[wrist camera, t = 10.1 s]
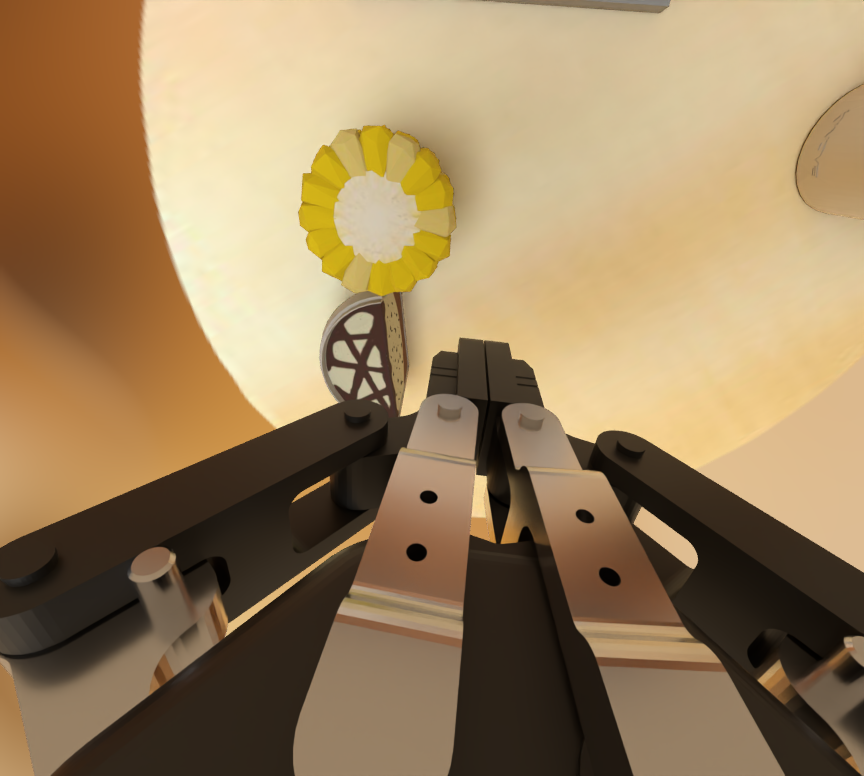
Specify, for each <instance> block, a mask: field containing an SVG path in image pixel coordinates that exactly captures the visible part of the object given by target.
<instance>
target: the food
mask: <svg viewBox="0 0 864 776" xmlns="http://www.w3.org/2000/svg"><path fill="white" fill-rule="evenodd" d="M311 170H312V171H311V173H303V180H302V197H301V201H302V204H301V207H300V209H299V212H298V214H299V220H300V226H301V227H303V228H304V229H305V230H306V231H308V232H309V233H308V235H307V238H306V243H307V246H308V249H309V250H310V251H312V252H313V253H314V254H315V255H316V256H318V257H319V258H320V259H321V260H322V272H324V273H326V274H328V275H330V276H332V277H335V278H337V279H339V280H341V281H342V284H341V285H342V286H344V287H346V288H347V289H349V290H351V291H352V292H354V293H360V292H365V291H370V292H372V293H374V294H377V295H379V296H381V297H382V296H384V295H387V294H390V293H393V292H410V291H411V290H412V289H413V287H414V286H415V284H416V283H417V281H418V280H421V279H426V278H429V277H430V276H431V275H432V274H433V272H434V271H435V269H436V268H437V264H438V261H440V260H442V259H445V258H447V257H449V256H450V241H451V235H450V233H451V232H452V231H453V230H454V229H455V228H456V216H455V208H454V206H453V205H452V201H453V195H454V193H453V189H454V188H453V187H452V186H451V184H450V180H449V178H448V176H447V175H445V173H442V172H441V168H440V165H439V160H438V159H437V157H436V156H435V153H434V152H432V151H430V150H429V149H428V148H424V147H423V148H420V145H419V142H418V140H417V139H415V137H413V136H410V134H405V133H403V132H400V131H397V132H396V133H395V134H394V135H393V133H392V132H391V130H390V129H387V128H386V126H385V125H383V126H369V125H368V126H363V129H362V131H361V130H357V129H348V130H340V131H339V133H338V135H337V136H336V138H335V139H334V141H333V142H332V144H331V145H330V146H329V147H328V146H325V145H323V146H322V147H321V148H320V150H319V151H318V153H317V154H316V157H315V159H314V161H313V164H312V166H311Z"/></svg>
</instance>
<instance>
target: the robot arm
mask: <svg viewBox="0 0 864 776" xmlns="http://www.w3.org/2000/svg"><path fill="white" fill-rule="evenodd" d="M796 175H797V186H798V189H799V192H800V195H801V197H802V198H803V199H804V201H805V202H806V203H807V204H808V205H809V206H811V207H812V208H813V209H815V210H817V211H820V212H823V213H827V214H833V215H839V216H845V217H850V218H856V219H862V220H864V84H863V85H861V86H859V87H858V88H856V89H854V90H852V91H850V92H849V93H848V94H846V95H845V96H844V97H843V98H841V99H840V100H839V101H837V102H836V103H835V104H834V105H833V106H832V107H831V108H830V109H829V110H828V111H827V112H826V113H825V114H824V115H823V116H822V117H821V119H820V120H819V121H818V123H817V124H816V125H815V127H814V128H813V129H812V131H811V133H810V134H809V136H808V138H807V140H806V142H805V144H804V146H803V148H802V151H801V154H800V157H799V160H798V166H797V172H796ZM535 379H536V378H535V375H534V371H533V369H532V368H531V367H530V366H529V365H528V364H527V363H526V362H525V361H524V360H515V359H512V357H511V352H510V347H509V343H503V342H494V341H486V340H485V341H484V344H483V340H476V339H468V338H460V339H459V345H458V352H457V353H455V352H446V351H440V352H439V353H438V354H437V355H436V356H434V357H433V361H432V367H431V373H430V379H429V385H428V391H427V397H426V399H425V400H424V401H423V402H422V403H421V406H420V409H419V411H417V412H415V413H413V414H410V415H407V416H401V417H391V418H388V417H389V416H388V412H387V411H386V409H385V408H384V407H383V406H381V405H380V404H378V403H375V402H373V401H369V400H361V399H355V400H347V401H343V402H340V403H337V404H335V405H333V406H330V407H328V408H326V409H323V410H321V411H318V412H316V413H314V414H311V415H309V416H307V417H304V418H302V419H299V420H297V421H295V422H292V423H290V424H288V425H285V426H283V427H281V428H278V429H276V430H273V431H271V432H269V433H266V434H264V435H262V436H260V437H257V438H255V439H252V440H250V441H247V442H245V443H243V444H240V445H238V446H236V447H233V448H231V449H228V450H226V451H224V452H221V453H219V454H217V455H214V456H212V457H210V458H207V459H205V460H203V461H200V462H198V463H195V464H193V465H191V466H189V467H186V468H184V469H182V470H179V471H176V472H174V473H172V474H170V475H167V476H165V477H162V478H160V479H157V480H155V481H153V482H150V483H148V484H146V485H143V486H141V487H139V488H136V489H134V490H131V491H129V492H127V493H124V494H122V495H120V496H117V497H115V498H112V499H110V500H108V501H105V502H103V503H101V504H98V505H96V506H94V507H91V508H89V509H86V510H84V511H82V512H80V513H77V514H75V515H72V516H70V517H68V518H65V519H63V520H60V521H58V522H56V523H53V524H51V525H49V526H46V527H44V528H42V529H39V530H37V531H35V532H32V533H30V534H27V535H25V536H23V537H20V538H18V539H16V540H14V541H12V542H10V543H8V544H7V545H5V546H3V547H1V548H0V664H1V665H2V666H3V667H4V669H5V670H6V671H7V672H8V673H9V674H10V675H11V677H12V678H13V679H14V684H15V689H16V693H17V698H18V702H19V707H20V711H21V716H22V720H23V725H24V730H25V733H26V739H27V743H28V747H29V752H30V757H31V761H32V766H33V770H34V774H35V776H864V573H863V572H862V571H860V570H858V569H857V568H855V567H853V566H852V565H850V564H849V563H847V562H845V561H844V560H842V559H840V558H839V557H837V556H835V555H834V554H832V553H830V552H829V551H827V550H825V549H824V548H822V547H820V546H819V545H817V544H815V543H814V542H812V541H811V540H809V539H807V538H806V537H804V536H802V535H801V534H799V533H798V532H796V531H794V530H793V529H791V528H789V527H788V526H786V525H785V524H783V523H781V522H779V521H778V520H776V519H774V518H773V517H771V516H770V515H768V514H766V513H764V512H763V511H761V510H760V509H758V508H756V507H755V506H753V505H752V504H750V503H748V502H747V501H745V500H743V499H742V498H740V497H739V496H737V495H735V494H734V493H732V492H730V491H729V490H727V489H725V488H724V487H722V486H720V485H719V484H717V483H716V482H714V481H712V480H711V479H709V478H707V477H705V476H704V475H702V474H701V473H699V472H698V471H696V470H694V469H693V468H691V467H689V466H688V465H686V464H684V463H683V462H681V461H679V460H678V459H676V458H675V457H673V456H671V455H670V454H668V453H666V452H665V451H663V450H661V449H660V448H658V447H657V446H655V445H653V444H652V443H650V442H648V441H647V440H645V439H643V438H641V437H639V436H637V435H634V434H631V433H627V432H623V431H606V432H603V433H601V434H600V435H599V436H598V438H597V440H596V443H595V444H594V443H591V442H588V441H584V440H581V439H578V438H575V437H572V436H570V435H568V434H565V431H564V429H563V427H562V425H561V423H560V421H559V419H558V418H557V417H556V415H554V414H553V413H552V412H550V411H549V410H547V409H545V408H544V405H543V402H542V398H541V395H540V391H539V388H538V385H537V381H536V380H535ZM475 469H476V475H482V476H487V485H486V489H485V494H484V505H485V512H486V519H487V526H488V533H489V540H490V541H487V540H484V539H481V538H478V537H475V536H472V535H470V525H471V514H472V503H473V492H474V480H475ZM328 476H330V482H328V483H326V484H324V485H323V486H321V487H319V488H317V489H316V490H314V491H312V492H310V493H309V494H307V495H305V496H303V497H302V498H300V499H298V500H296V501H295V502H293V503H292V501H293V500H294V498H295V497H296V496H297V495H298V494H299V493H300V492H302V491H304V490H305V489H307V488H309V487H310V486H312V485H314V484H316V483H318V482H320V481H321V480H323V479H325V478H326V477H328ZM641 507H644V508H645V509H646V510H647V511H649V512H650V513H652V514H653V515H655V516H656V517H657V518H658V519H660V520H661V521H662V522H664V523H665V524H667V525H668V526H669V527H671V528H672V529H673V530H675V531H676V532H677V533H679V534H680V535H681V536H683V537H684V538H685V539H687V540H688V541H689V542H690V543H691V544H692V545H693V547H694V548H695V550H696V552H697V555H698V564H697V566H696V567H695V569H692V568H689V567H688V566H686V565H685V564H684V563H682V562H681V561H680V560H679V559H677V558H676V557H675V556H673V555H672V554H671V553H670V552H668V551H667V550H666V549H665V548H663V547H662V546H661V545H660V544H658V543H657V542H656V541H654V540H653V539H652V538H651V537H649V536H648V535H647V534H645V533H644V532H643V531H641V530H640V529H639V528H638V527H636V526H635V525H634V524H633V523H634V521H635V519H636V517H637V515H638V513H639V511H640V509H641ZM374 520H375V522H374V525H373V528H372V531H371V533H370V536H369V539H367V540H365V541H361V542H359V543H356V544H353V545H351V546H349V547H347V548H345V549H343V550H341V551H340V552H338V553H336V554H334V555H333V556H331V557H330V558H329V559H327V560H326V561H324V562H323V563H322V564H321V565H319V566H318V567H317V568H315V569H314V570H313V571H311V572H310V573H309V574H308V575H306V576H305V577H303V578H302V579H301V580H300V581H298V582H297V583H296V584H294V585H293V586H292V587H290V588H289V589H288V590H286V591H285V592H284V593H282V594H281V595H280V596H279V597H277V598H276V599H275V600H273V601H272V602H271V603H269V604H268V605H267V606H265V607H264V608H263V609H262V610H260V611H259V612H258V613H256V614H255V615H254V616H252V617H251V618H250V619H248V620H247V621H246V622H245V623H243V624H242V625H241V626H239V627H238V628H237V629H235V630H234V631H233V632H231V633H230V634H229V635H228V636H226V637H225V635H226V632H227V627H228V623H229V622H231V621H232V620H234V619H235V618H237V617H238V616H240V615H241V614H242V613H244V612H245V611H247V610H248V609H250V608H251V607H252V606H254V605H255V604H257V603H258V602H259V601H261V600H262V599H264V598H265V597H266V596H268V595H269V594H271V593H272V592H274V591H275V590H276V589H278V588H279V587H281V586H282V585H283V584H285V583H286V582H288V581H289V580H291V579H292V578H293V577H295V576H296V575H298V574H299V573H301V572H302V571H303V570H305V569H306V568H308V567H309V566H311V565H312V564H313V563H315V562H316V561H318V560H319V559H320V558H322V557H323V556H325V555H326V554H328V553H329V552H330V551H332V550H333V549H335V548H336V547H337V546H339V545H340V544H342V543H343V542H344V541H346V540H347V539H349V538H350V537H352V536H353V535H354V534H356V533H357V532H359V531H360V530H361V529H363V528H364V527H366V526H367V525H369V524H370V523H371V522H373V521H374ZM224 637H225V638H224Z"/></svg>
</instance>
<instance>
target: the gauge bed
mask: <svg viewBox="0 0 864 776" xmlns="http://www.w3.org/2000/svg"><path fill="white" fill-rule="evenodd" d="M484 1H498V2H512V3H527V4H541V5H555V6H569V7H583V8H597V9H612V10H626V11H640V12H654V13H660V12H661V11H663V10H664V9H666V8H667V7H669V4H670V0H484Z"/></svg>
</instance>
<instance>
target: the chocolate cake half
mask: <svg viewBox="0 0 864 776" xmlns="http://www.w3.org/2000/svg"><path fill="white" fill-rule="evenodd" d="M320 366H321V371H322V374H323V377H324V380H325V383H326V385H327V387H328V389H329V391H330V392H331V394H332V395H333V397H334V398H335V400H336V401H337V402H338V403H340V402H343V401H347V400H355V399H361V400H369V401H373V402H375V403H378V404H380V405H381V406H383V407H384V408H385V409H386V411H387V412H388V416H389V417H388V418H391V417H400V414H401V408H402V403H403V397H404V392H405V386H406V381H407V375H408V370H409V359H408V349H407V340H406V330H405V321H404V312H403V302H402V293H401V292H393V293H390V294H387V295H384V296H382V297H381V296H379V295H377V294H374V293H372V292H370V291H365V292H360V293H358V294H356V295H354V296H352V297H350V298H349V299H347V300H346V301H345V302H343V303H342V304H341V305H340V306H339V307H338V308H337V309H336V310H335V311H334V312H333V314H332V315H331V317H330V318H329V320H328V321H327V324H326V326H325V329H324V331H323V336H322V340H321V345H320Z"/></svg>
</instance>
